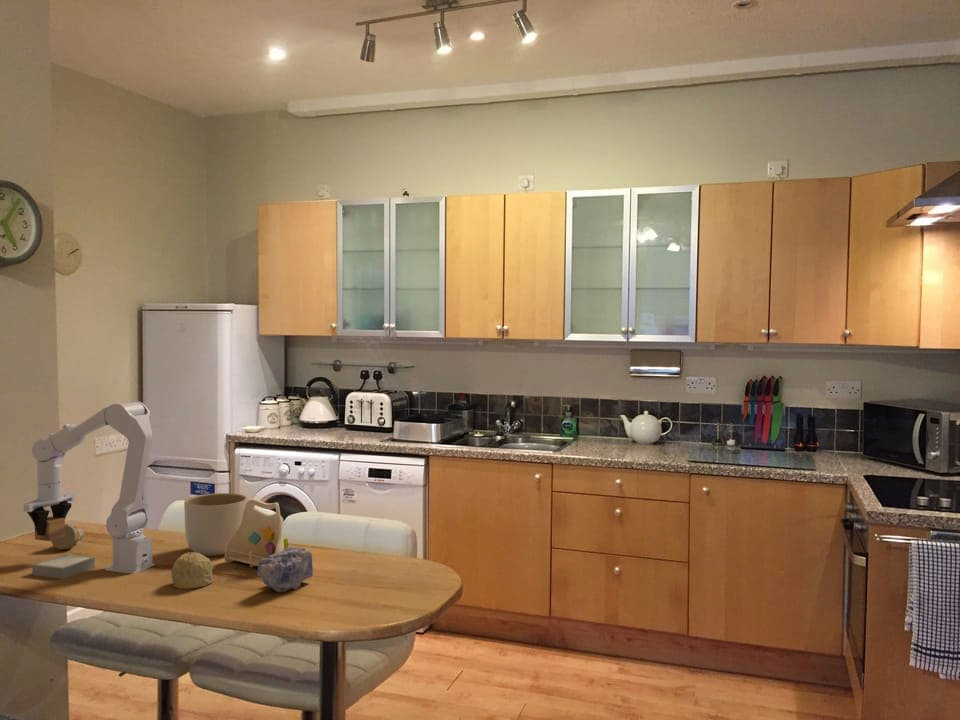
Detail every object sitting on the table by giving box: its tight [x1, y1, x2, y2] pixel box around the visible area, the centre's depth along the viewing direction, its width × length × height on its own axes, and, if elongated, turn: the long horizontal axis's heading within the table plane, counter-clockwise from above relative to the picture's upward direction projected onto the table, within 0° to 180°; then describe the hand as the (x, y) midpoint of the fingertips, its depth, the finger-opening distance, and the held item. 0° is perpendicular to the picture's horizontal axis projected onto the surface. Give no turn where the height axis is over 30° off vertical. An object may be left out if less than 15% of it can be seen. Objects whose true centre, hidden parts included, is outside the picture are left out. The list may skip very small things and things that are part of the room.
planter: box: [183, 492, 248, 557], centre depth 215 cm, size 17×17×15 cm
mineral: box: [256, 546, 314, 593], centre depth 182 cm, size 14×10×10 cm, turn 157°
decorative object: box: [170, 551, 214, 590], centre depth 185 cm, size 9×10×10 cm
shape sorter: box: [224, 498, 289, 568], centre depth 203 cm, size 20×10×18 cm, turn 58°
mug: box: [51, 523, 85, 550], centre depth 217 cm, size 8×10×10 cm
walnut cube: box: [34, 516, 66, 542], centre depth 202 cm, size 5×5×5 cm
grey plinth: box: [31, 553, 96, 580], centre depth 195 cm, size 10×10×3 cm
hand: (50, 532), depth 202 cm, fingers closed on walnut cube, 5 cm apart
